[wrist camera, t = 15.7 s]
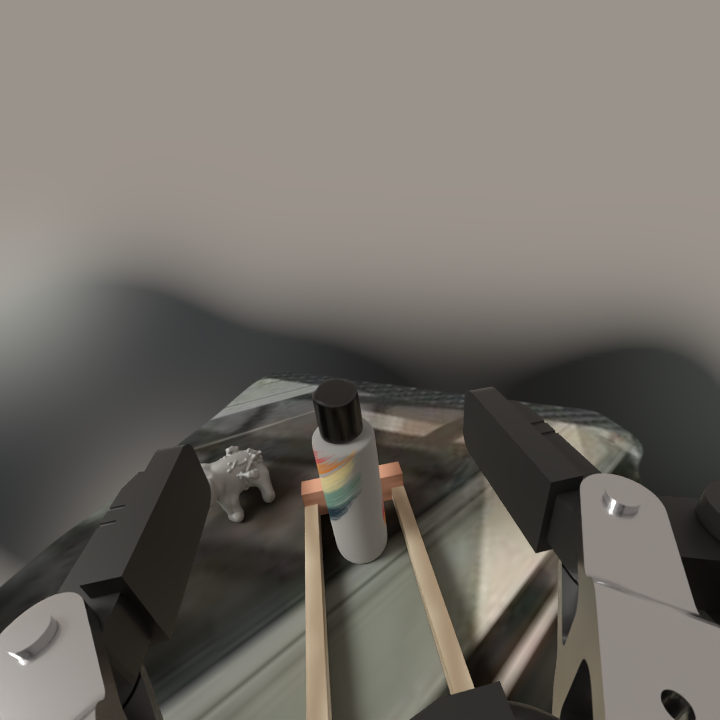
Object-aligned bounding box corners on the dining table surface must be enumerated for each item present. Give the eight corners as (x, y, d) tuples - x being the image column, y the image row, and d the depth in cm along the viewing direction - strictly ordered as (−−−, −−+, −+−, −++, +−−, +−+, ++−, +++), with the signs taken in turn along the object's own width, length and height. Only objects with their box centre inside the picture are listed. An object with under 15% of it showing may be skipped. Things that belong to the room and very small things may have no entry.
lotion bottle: (373, 509, 40) (351, 364, 30) (397, 549, 35) (380, 392, 26) (329, 530, 38) (292, 383, 29) (348, 575, 33) (311, 417, 24)
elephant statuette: (289, 488, 45) (277, 443, 41) (216, 567, 35) (194, 517, 32) (241, 469, 49) (228, 427, 46) (166, 535, 40) (142, 488, 37)
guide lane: (315, 923, 17) (300, 915, 16) (307, 504, 41) (301, 481, 40) (526, 854, 18) (534, 839, 17) (400, 484, 42) (398, 461, 41)
